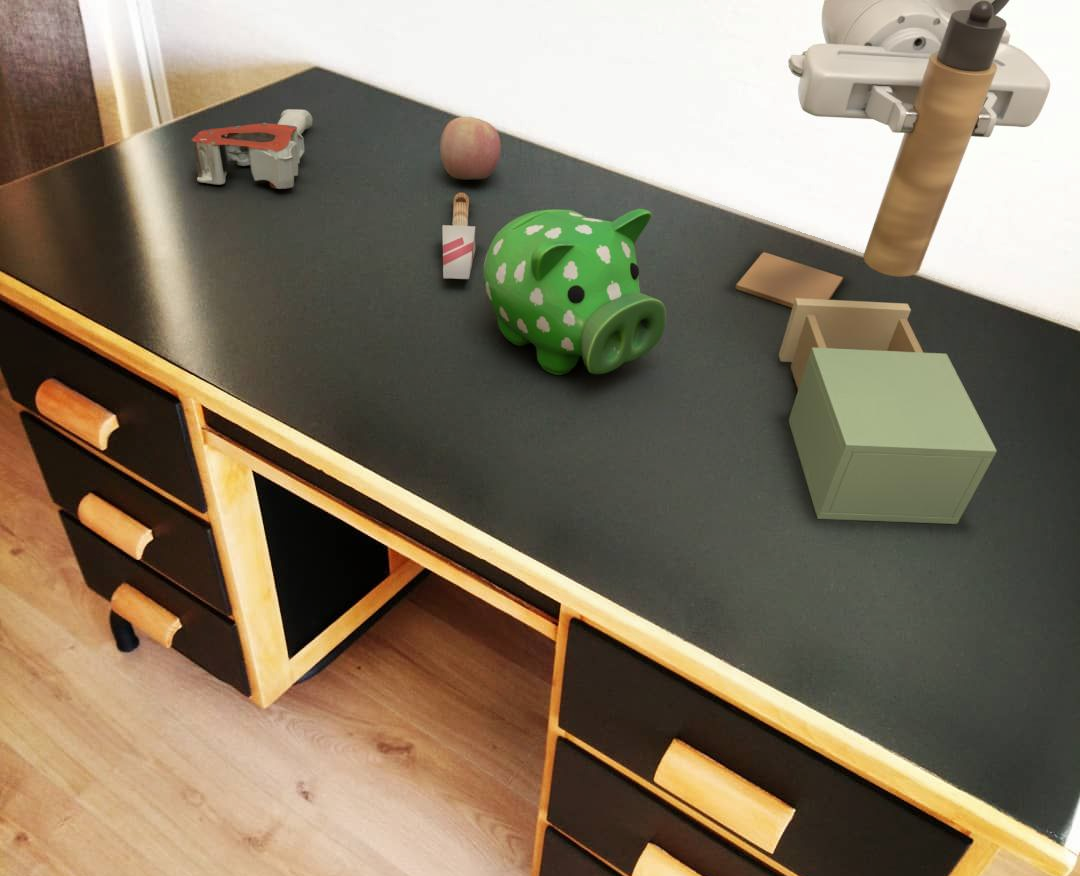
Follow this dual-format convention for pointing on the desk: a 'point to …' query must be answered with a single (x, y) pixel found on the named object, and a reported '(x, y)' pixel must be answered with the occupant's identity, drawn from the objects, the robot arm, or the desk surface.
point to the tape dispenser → (254, 149)
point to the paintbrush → (458, 241)
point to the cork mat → (787, 281)
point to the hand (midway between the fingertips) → (946, 125)
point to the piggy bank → (573, 289)
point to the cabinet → (888, 436)
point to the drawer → (844, 329)
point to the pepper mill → (935, 141)
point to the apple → (470, 148)
